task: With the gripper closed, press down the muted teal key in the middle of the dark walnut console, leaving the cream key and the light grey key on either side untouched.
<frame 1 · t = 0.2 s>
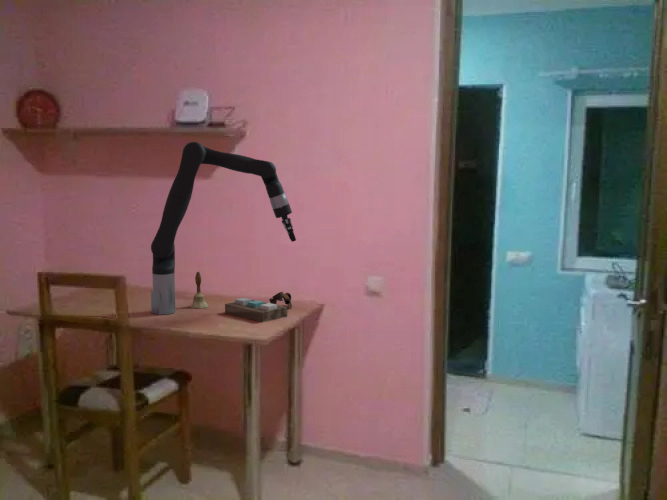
hand: (293, 239, 271), 31 cm above the table, tool tilted 20°, fingers open, 8 cm apart
grey key: (243, 301, 268), point 4 cm above the table, slide at 0.0 cm
teal key: (255, 304, 263), point 4 cm above the table, slide at 0.0 cm
pottery mug: (282, 307, 278), on the table
console: (255, 314, 264), on the table
cream key: (268, 307, 258), point 4 cm above the table, slide at 0.0 cm
hand bell: (199, 307, 277), on the table
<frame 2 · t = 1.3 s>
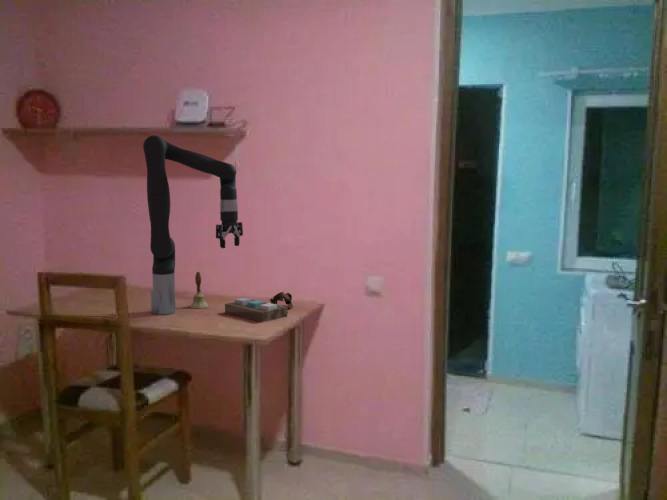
hand: (230, 247, 268), 28 cm above the table, tool pointing down, fingers open, 8 cm apart
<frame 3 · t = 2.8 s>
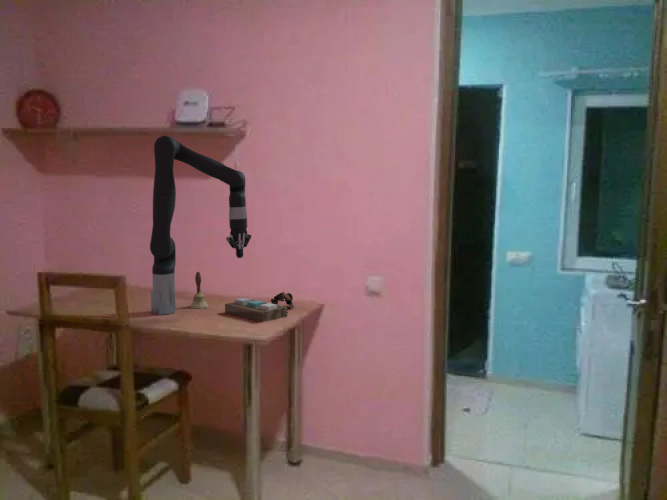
hand: (239, 257, 265), 24 cm above the table, tool pointing down, fingers closed
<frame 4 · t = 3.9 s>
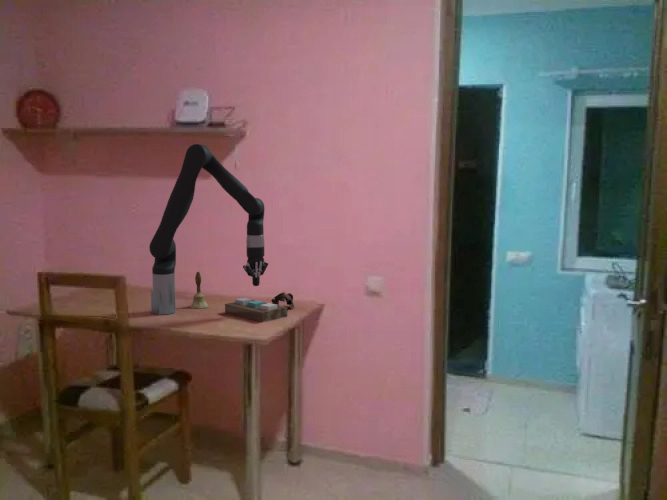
hand: (256, 285, 262), 13 cm above the table, tool pointing down, fingers closed
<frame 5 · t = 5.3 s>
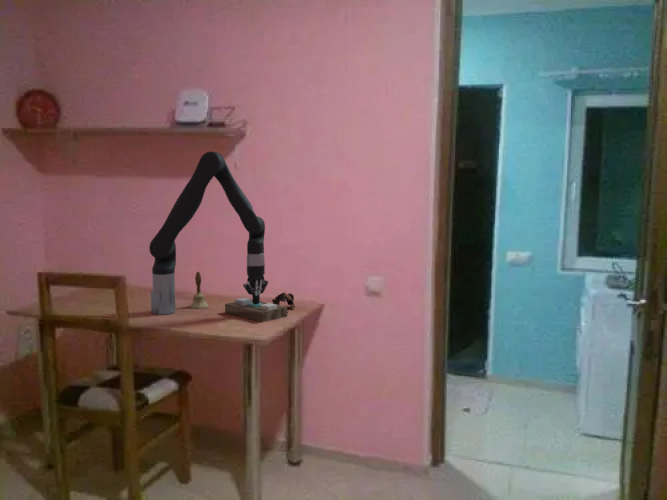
hand: (256, 303, 263), 5 cm above the table, tool pointing down, fingers closed
teal key: (255, 306, 263), point 4 cm above the table, slide at 0.8 cm, touching gripper
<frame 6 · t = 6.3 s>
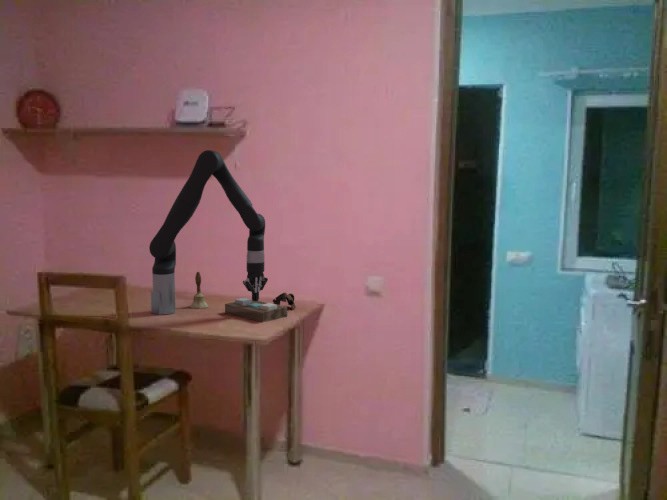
hand: (255, 300, 263), 6 cm above the table, tool pointing down, fingers closed
teal key: (255, 307, 263), point 3 cm above the table, slide at 1.2 cm
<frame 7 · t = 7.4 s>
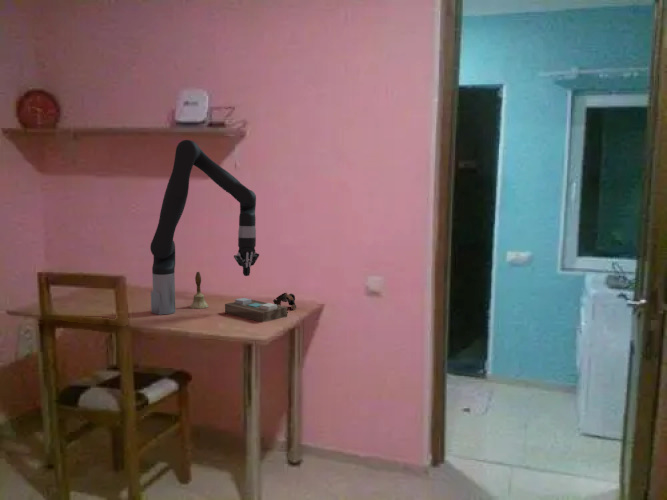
hand: (246, 275, 267), 16 cm above the table, tool pointing down, fingers closed
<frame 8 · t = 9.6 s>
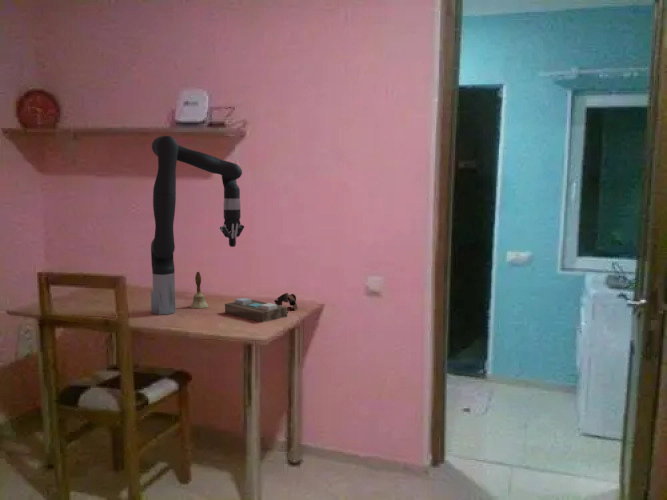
hand: (232, 246, 279), 27 cm above the table, tool pointing down, fingers closed
at the end: teal key slide at 1.2 cm; cream key slide at 0.0 cm; grey key slide at 0.0 cm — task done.
